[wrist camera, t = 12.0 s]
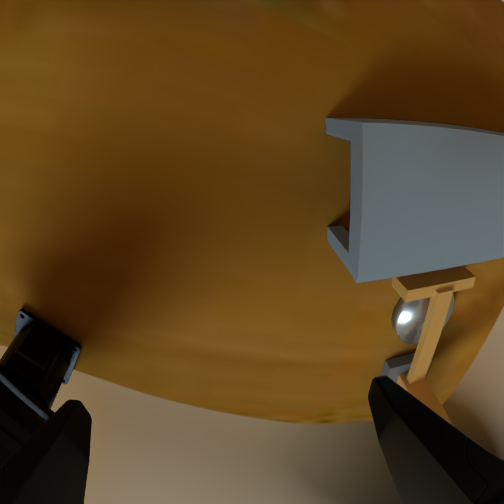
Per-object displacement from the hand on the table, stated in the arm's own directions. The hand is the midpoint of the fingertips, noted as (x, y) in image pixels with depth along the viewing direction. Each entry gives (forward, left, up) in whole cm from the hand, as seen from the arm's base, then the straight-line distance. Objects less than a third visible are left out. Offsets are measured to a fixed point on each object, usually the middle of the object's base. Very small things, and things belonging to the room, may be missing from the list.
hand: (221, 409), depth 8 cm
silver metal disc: (+4, -18, -13) cm, 22 cm away
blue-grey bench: (+12, -10, -13) cm, 21 cm away
